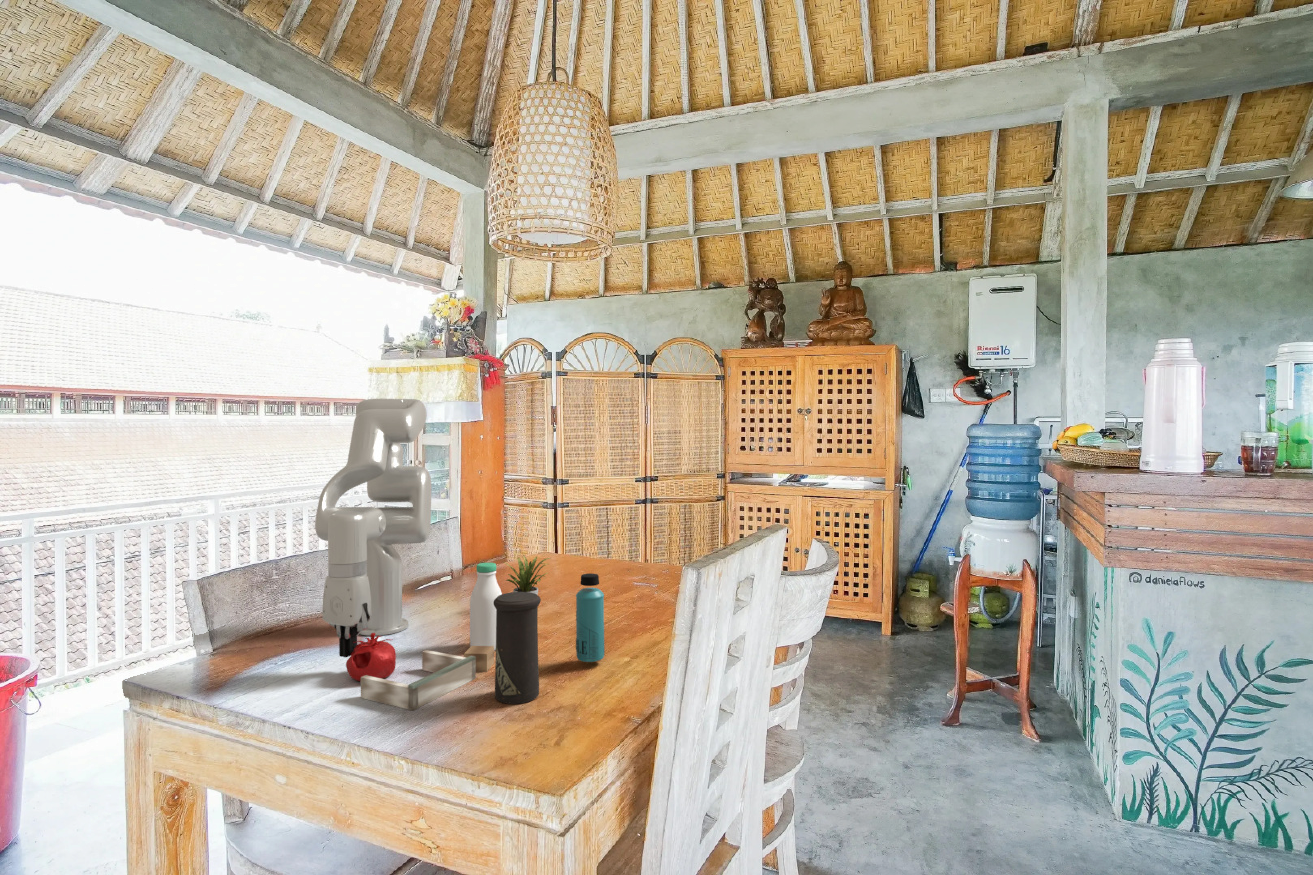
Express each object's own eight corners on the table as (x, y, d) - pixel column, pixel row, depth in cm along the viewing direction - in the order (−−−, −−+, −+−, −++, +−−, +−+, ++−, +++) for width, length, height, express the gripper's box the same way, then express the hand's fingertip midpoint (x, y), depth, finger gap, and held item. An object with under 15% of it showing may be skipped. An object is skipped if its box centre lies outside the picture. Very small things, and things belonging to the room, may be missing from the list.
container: (497, 687, 132) (497, 589, 131) (542, 686, 132) (542, 588, 132) (490, 705, 123) (489, 600, 123) (538, 704, 124) (538, 599, 124)
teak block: (464, 671, 141) (464, 653, 141) (471, 663, 146) (471, 645, 146) (486, 672, 140) (486, 653, 140) (493, 664, 146) (493, 646, 145)
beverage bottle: (609, 660, 147) (609, 572, 147) (597, 670, 141) (597, 578, 141) (583, 657, 149) (583, 569, 149) (570, 667, 143) (570, 576, 143)
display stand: (360, 697, 127) (360, 674, 127) (426, 668, 142) (426, 647, 142) (413, 710, 121) (413, 685, 121) (475, 678, 137) (475, 656, 137)
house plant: (565, 609, 189) (565, 552, 189) (532, 620, 177) (532, 560, 177) (529, 601, 197) (528, 547, 196) (494, 612, 185) (494, 555, 185)
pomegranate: (385, 665, 145) (386, 623, 145) (404, 677, 138) (405, 632, 138) (338, 676, 138) (339, 632, 138) (356, 689, 131) (356, 642, 131)
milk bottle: (494, 653, 152) (494, 568, 151) (463, 651, 153) (463, 566, 153) (508, 643, 159) (508, 561, 159) (479, 641, 161) (479, 560, 160)
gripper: (308, 569, 140) (308, 655, 140) (357, 576, 133) (358, 666, 134) (338, 563, 147) (339, 644, 147) (387, 569, 140) (387, 654, 140)
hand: (348, 654), depth 140 cm, fingers closed
